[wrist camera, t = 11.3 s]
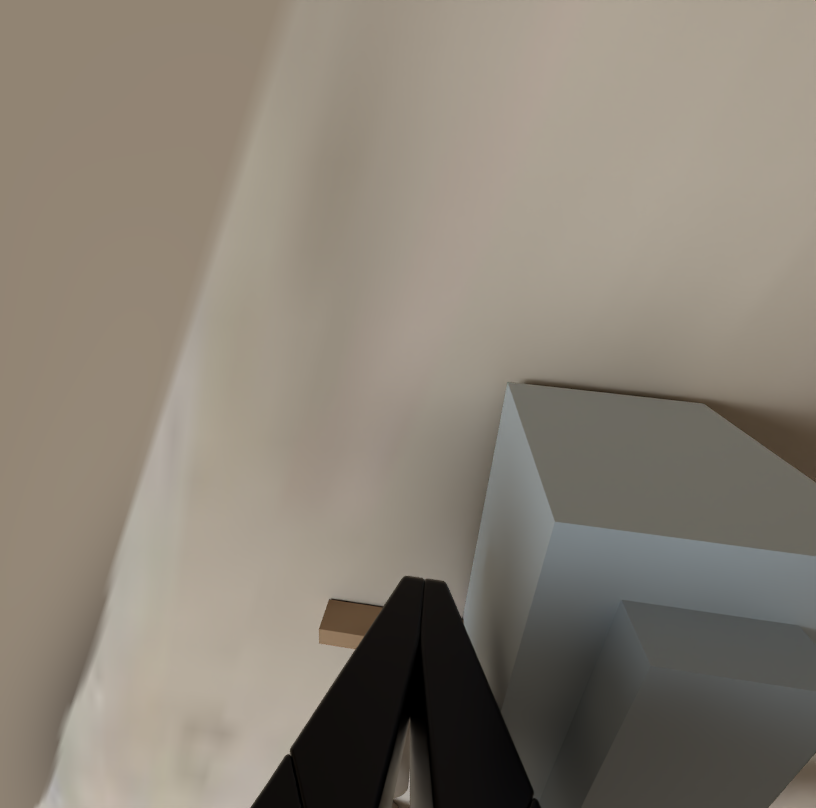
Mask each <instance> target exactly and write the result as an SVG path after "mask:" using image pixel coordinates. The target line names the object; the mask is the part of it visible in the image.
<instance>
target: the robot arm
mask: <svg viewBox="0 0 816 808" xmlns="http://www.w3.org/2000/svg"><path fill="white" fill-rule="evenodd" d="M409 719H410V808H541V806H540V803H539V801H538V800H537V799H536V798H533V796H534V790H533V787H532V785H531V783H530V780H529V778H528V776H527V773H526V771H525V768H524V766H523V764H522V761H521V759H520V757H519V754H518V752H517V749H516V747H515V745H514V742H513V740H512V738H511V735H510V733H509V730H508V728H507V726H506V723H505V721H504V719H503V716H502V714H501V711H500V709H499V707H498V704H497V702H496V700H495V697H494V695H493V692H492V690H491V688H490V685H489V683H488V681H487V678H486V676H485V673H484V671H483V669H482V666H481V664H480V662H479V659H478V657H477V654H476V652H475V650H474V647H473V645H472V643H471V640H470V638H469V635H468V633H467V631H466V628H465V626H464V624H463V621H462V619H461V616H460V614H459V612H458V609H457V607H456V605H455V602H454V600H453V597H452V595H451V593H450V590H449V588H448V586H447V584H446V583H445V582H444V581H440V580H433V579H425V580H424V579H423V578H419V577H412V576H404V577H403V578H402V579H401V581H400V582H399V584H398V585H397V587H396V588H395V590H394V591H393V593H392V594H391V596H390V597H389V599H388V600H387V602H386V604H385V605H384V607H383V608H382V610H381V611H380V613H379V614H378V616H377V617H376V619H375V620H374V622H373V623H372V625H371V626H370V628H369V629H368V631H367V633H366V634H365V636H364V637H363V639H362V640H361V642H360V643H359V645H358V646H357V648H356V649H355V651H354V652H353V654H352V655H351V657H350V658H349V660H348V661H347V663H346V665H345V666H344V668H343V669H342V671H341V672H340V674H339V675H338V677H337V678H336V680H335V681H334V683H333V684H332V686H331V687H330V689H329V690H328V692H327V694H326V695H325V697H324V698H323V700H322V701H321V703H320V704H319V706H318V707H317V709H316V710H315V712H314V713H313V715H312V716H311V718H310V719H309V721H308V722H307V724H306V726H305V727H304V729H303V730H302V732H301V733H300V735H299V736H298V738H297V739H296V741H295V742H294V744H293V745H292V747H291V749H290V755H289V754H287V755H286V756H285V757H284V759H283V760H282V762H281V763H280V765H279V766H278V768H277V769H276V771H275V772H274V774H273V775H272V777H271V778H270V780H269V781H268V783H267V784H266V786H265V787H264V789H263V790H262V792H261V793H260V795H259V796H258V797H257V799H256V800H255V802H254V803H253V805H252V806H251V808H392V803H393V798H394V793H395V788H396V783H397V778H398V774H399V769H400V764H401V759H402V754H403V749H404V744H405V740H406V735H407V730H408V725H409Z"/></svg>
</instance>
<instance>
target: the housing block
mask: <svg viewBox="0 0 816 808" xmlns="http://www.w3.org/2000/svg"><path fill="white" fill-rule="evenodd" d="M464 626H465V628H466V631H467V633H468V635H469V638H470V640H471V643H472V645H473V647H474V650H475V652H476V654H477V657H478V659H479V662H480V664H481V666H482V669H483V671H484V673H485V676H486V678H487V681H488V683H489V685H490V688H491V690H492V692H493V695H494V697H495V700H496V702H497V704H498V707H499V709H500V711H501V714H502V716H503V719H504V721H505V723H506V726H507V728H508V730H509V733H510V735H511V738H512V740H513V742H514V745H515V747H516V749H517V752H518V754H519V757H520V759H521V761H522V764H523V766H524V768H525V771H526V773H527V776H528V778H529V780H530V783H531V785H532V787H533V790H534V796H533V798H536V799H537V800H538V801H539V803H540V806H541V808H768V807H769V806H770V805H771V804H772V803H773V802H774V800H775V799H776V798H777V797H778V796H779V795H780V793H781V792H782V791H783V790H784V789H785V788H786V786H787V785H788V784H789V783H790V782H791V781H792V780H793V778H794V777H795V776H796V775H797V774H798V773H799V771H800V770H801V769H802V768H803V767H804V766H805V765H806V763H807V762H808V761H809V760H810V759H811V758H812V756H813V755H814V754H815V753H816V482H814V481H813V480H811V479H810V478H809V477H807V476H806V475H804V474H803V473H801V472H800V471H799V470H797V469H796V468H794V467H793V466H791V465H790V464H789V463H787V462H786V461H784V460H783V459H782V458H780V457H779V456H777V455H776V454H774V453H773V452H772V451H770V450H769V449H767V448H766V447H764V446H763V445H762V444H760V443H759V442H757V441H756V440H754V439H753V438H752V437H750V436H749V435H747V434H746V433H745V432H743V431H742V430H740V429H739V428H737V427H736V426H735V425H733V424H732V423H730V422H729V421H727V420H726V419H725V418H723V417H722V416H720V415H719V414H717V413H716V412H715V411H713V410H712V409H710V408H709V407H707V406H706V405H705V404H702V403H693V402H684V401H675V400H666V399H657V398H648V397H639V396H630V395H621V394H612V393H603V392H594V391H585V390H576V389H567V388H558V387H549V386H540V385H531V384H522V383H513V382H508V383H507V388H506V393H505V398H504V403H503V409H502V414H501V419H500V424H499V430H498V435H497V440H496V445H495V451H494V456H493V461H492V466H491V472H490V477H489V482H488V487H487V493H486V498H485V503H484V508H483V514H482V519H481V524H480V529H479V535H478V540H477V545H476V550H475V556H474V561H473V566H472V571H471V577H470V582H469V587H468V592H467V597H466V603H465V608H464Z"/></svg>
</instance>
